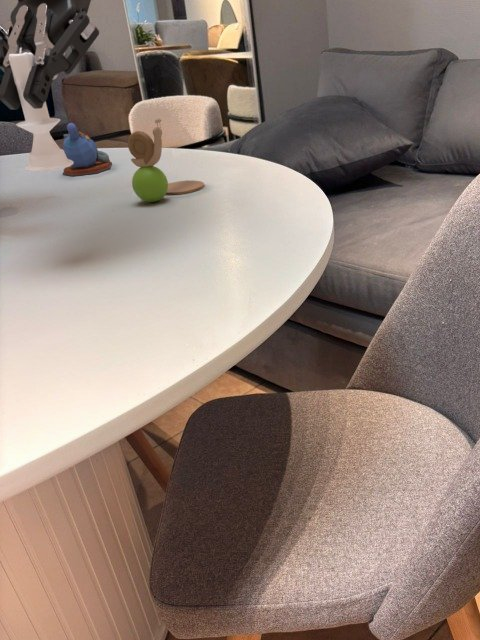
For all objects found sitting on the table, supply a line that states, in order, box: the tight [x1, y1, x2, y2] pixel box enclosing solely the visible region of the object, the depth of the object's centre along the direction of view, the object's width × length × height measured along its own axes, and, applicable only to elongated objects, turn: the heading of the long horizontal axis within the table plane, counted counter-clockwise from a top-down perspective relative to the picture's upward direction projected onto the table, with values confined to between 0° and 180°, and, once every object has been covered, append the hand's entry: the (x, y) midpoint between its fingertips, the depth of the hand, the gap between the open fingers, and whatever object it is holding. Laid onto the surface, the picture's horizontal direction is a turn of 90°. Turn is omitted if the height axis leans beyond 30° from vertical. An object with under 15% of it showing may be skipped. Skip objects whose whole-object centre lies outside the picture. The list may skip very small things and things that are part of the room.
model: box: [61, 122, 113, 177], centre depth 126 cm, size 12×9×9 cm
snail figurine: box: [127, 118, 169, 203], centre depth 97 cm, size 5×6×12 cm
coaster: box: [165, 180, 205, 196], centre depth 107 cm, size 8×8×1 cm
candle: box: [9, 48, 74, 173], centre depth 70 cm, size 5×5×12 cm
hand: (20, 103), depth 68 cm, fingers closed on candle, 2 cm apart
